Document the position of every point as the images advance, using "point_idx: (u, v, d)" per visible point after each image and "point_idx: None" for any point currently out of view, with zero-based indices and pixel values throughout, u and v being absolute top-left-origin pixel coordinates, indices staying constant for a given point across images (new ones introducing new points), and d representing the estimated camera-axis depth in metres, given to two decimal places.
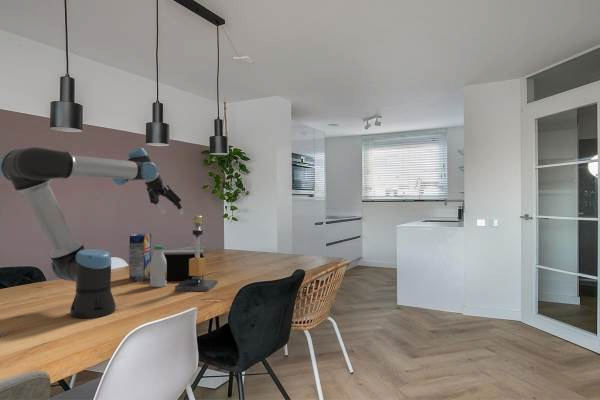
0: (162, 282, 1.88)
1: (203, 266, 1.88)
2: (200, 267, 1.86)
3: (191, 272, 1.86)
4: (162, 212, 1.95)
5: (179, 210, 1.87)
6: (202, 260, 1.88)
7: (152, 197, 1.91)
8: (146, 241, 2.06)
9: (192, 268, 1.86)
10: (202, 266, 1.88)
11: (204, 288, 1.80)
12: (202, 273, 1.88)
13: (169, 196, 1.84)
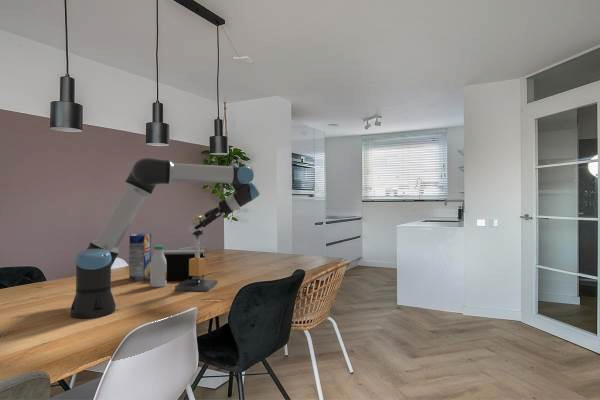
0: (162, 282, 1.88)
1: (203, 266, 1.88)
2: (200, 267, 1.86)
3: (191, 272, 1.86)
4: None
5: (193, 227, 1.77)
6: (202, 260, 1.88)
7: None
8: (146, 241, 2.06)
9: (192, 268, 1.86)
10: (202, 266, 1.88)
11: (204, 288, 1.80)
12: (202, 273, 1.88)
13: None
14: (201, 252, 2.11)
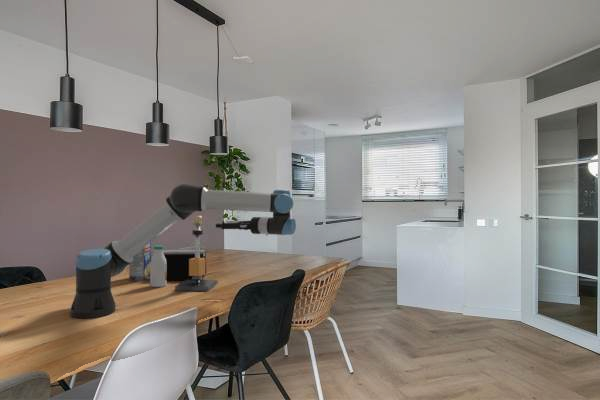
0: (162, 282, 1.88)
1: (203, 266, 1.88)
2: (200, 267, 1.86)
3: (191, 272, 1.86)
4: (227, 222, 1.81)
5: (215, 224, 1.68)
6: (202, 260, 1.88)
7: None
8: None
9: (192, 268, 1.86)
10: (202, 266, 1.88)
11: (204, 288, 1.80)
12: (202, 273, 1.88)
13: None
14: (201, 252, 2.11)
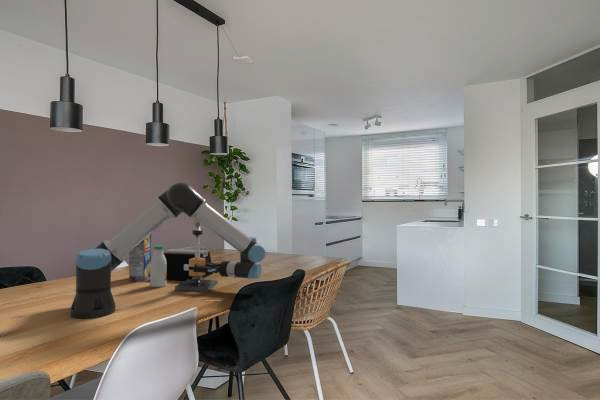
0: (162, 282, 1.88)
1: None
2: None
3: (191, 272, 1.86)
4: None
5: (188, 266, 1.86)
6: (202, 260, 1.88)
7: None
8: (146, 241, 2.06)
9: None
10: None
11: (204, 288, 1.80)
12: (202, 273, 1.88)
13: None
14: (201, 253, 2.09)
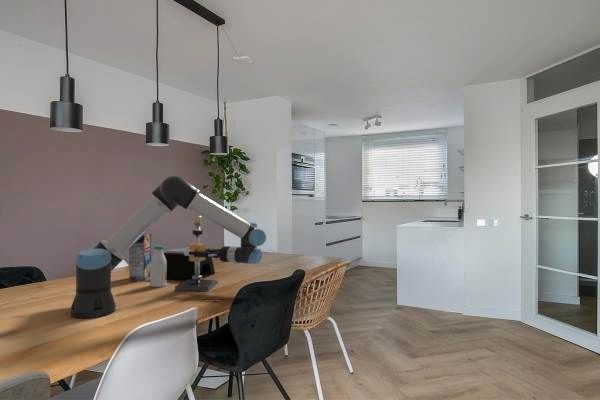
0: (162, 282, 1.88)
1: None
2: None
3: (191, 257, 1.86)
4: None
5: (188, 251, 1.86)
6: (202, 245, 1.88)
7: None
8: (146, 241, 2.06)
9: None
10: None
11: (204, 288, 1.80)
12: (202, 258, 1.88)
13: None
14: None
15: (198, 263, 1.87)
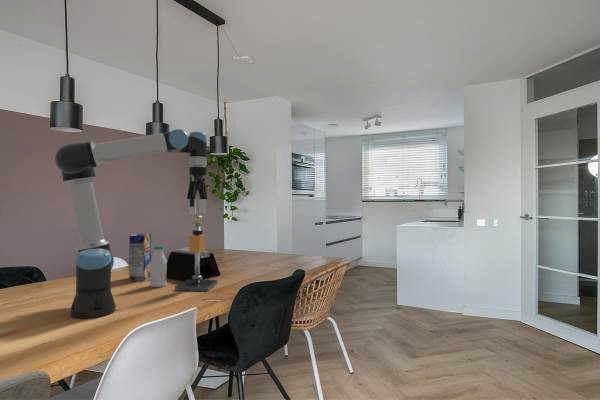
0: (162, 282, 1.88)
1: (203, 243, 1.88)
2: (200, 243, 1.86)
3: (191, 248, 1.86)
4: (200, 210, 1.79)
5: (191, 208, 1.66)
6: (202, 237, 1.88)
7: None
8: (146, 241, 2.06)
9: (192, 244, 1.86)
10: (202, 243, 1.88)
11: (204, 288, 1.80)
12: (202, 250, 1.88)
13: None
14: None
15: (198, 263, 1.87)
